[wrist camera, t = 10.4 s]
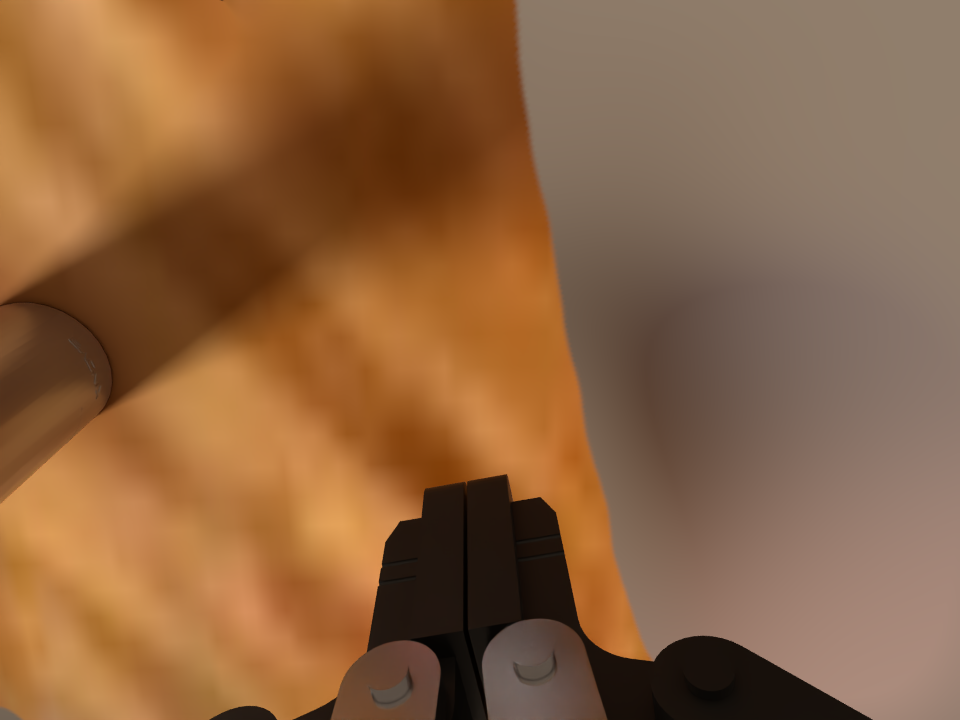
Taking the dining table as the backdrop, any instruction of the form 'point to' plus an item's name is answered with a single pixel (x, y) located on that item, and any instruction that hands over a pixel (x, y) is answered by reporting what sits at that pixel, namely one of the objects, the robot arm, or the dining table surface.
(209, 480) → the dining table surface
